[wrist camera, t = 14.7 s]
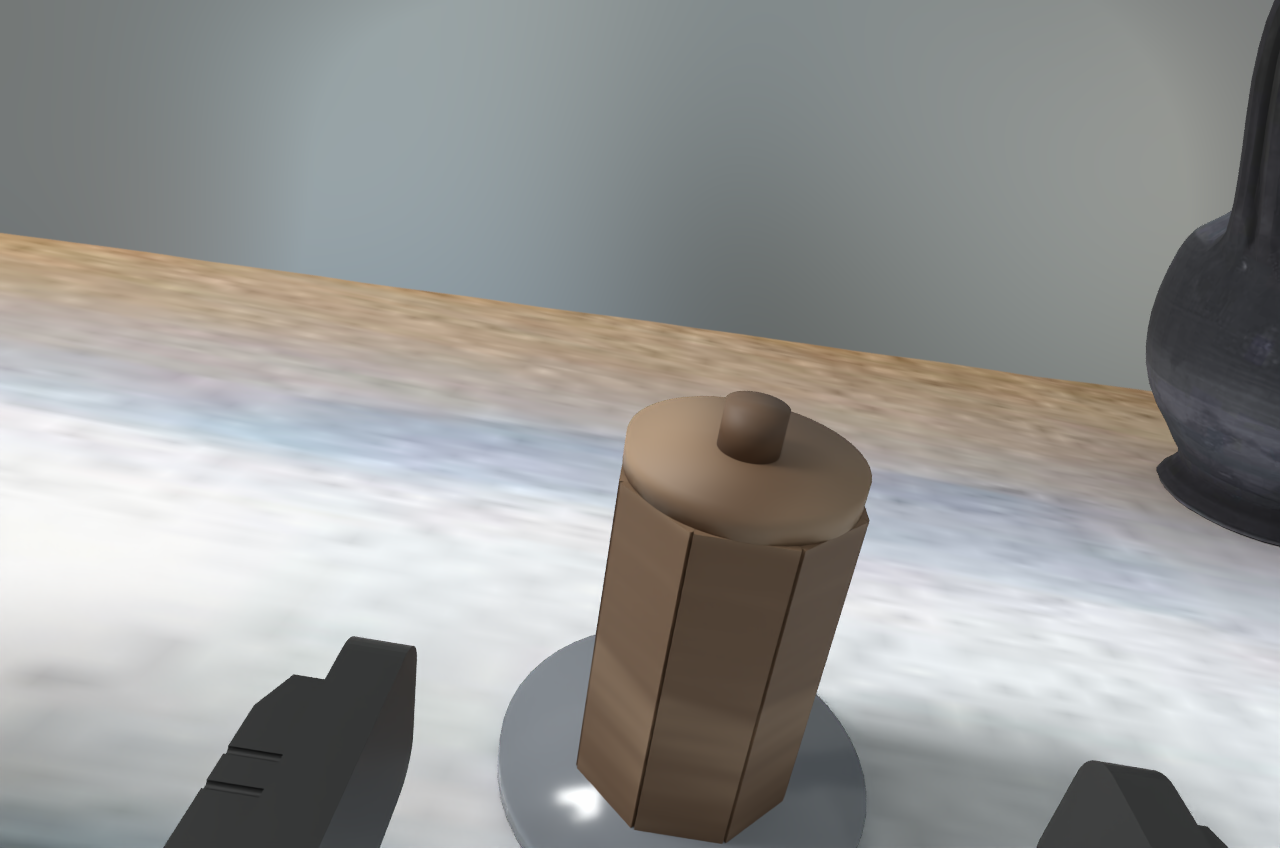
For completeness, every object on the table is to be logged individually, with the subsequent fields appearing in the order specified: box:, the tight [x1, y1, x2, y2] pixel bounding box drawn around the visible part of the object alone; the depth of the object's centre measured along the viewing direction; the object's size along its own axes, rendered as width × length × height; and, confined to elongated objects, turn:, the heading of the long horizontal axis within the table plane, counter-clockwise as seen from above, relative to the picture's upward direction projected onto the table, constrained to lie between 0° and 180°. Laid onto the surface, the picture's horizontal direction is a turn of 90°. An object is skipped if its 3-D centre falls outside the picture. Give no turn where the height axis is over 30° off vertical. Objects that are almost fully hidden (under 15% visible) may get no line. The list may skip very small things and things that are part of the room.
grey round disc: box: [498, 635, 866, 848], centre depth 26 cm, size 11×11×1 cm
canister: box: [576, 391, 872, 844], centre depth 23 cm, size 6×6×12 cm
